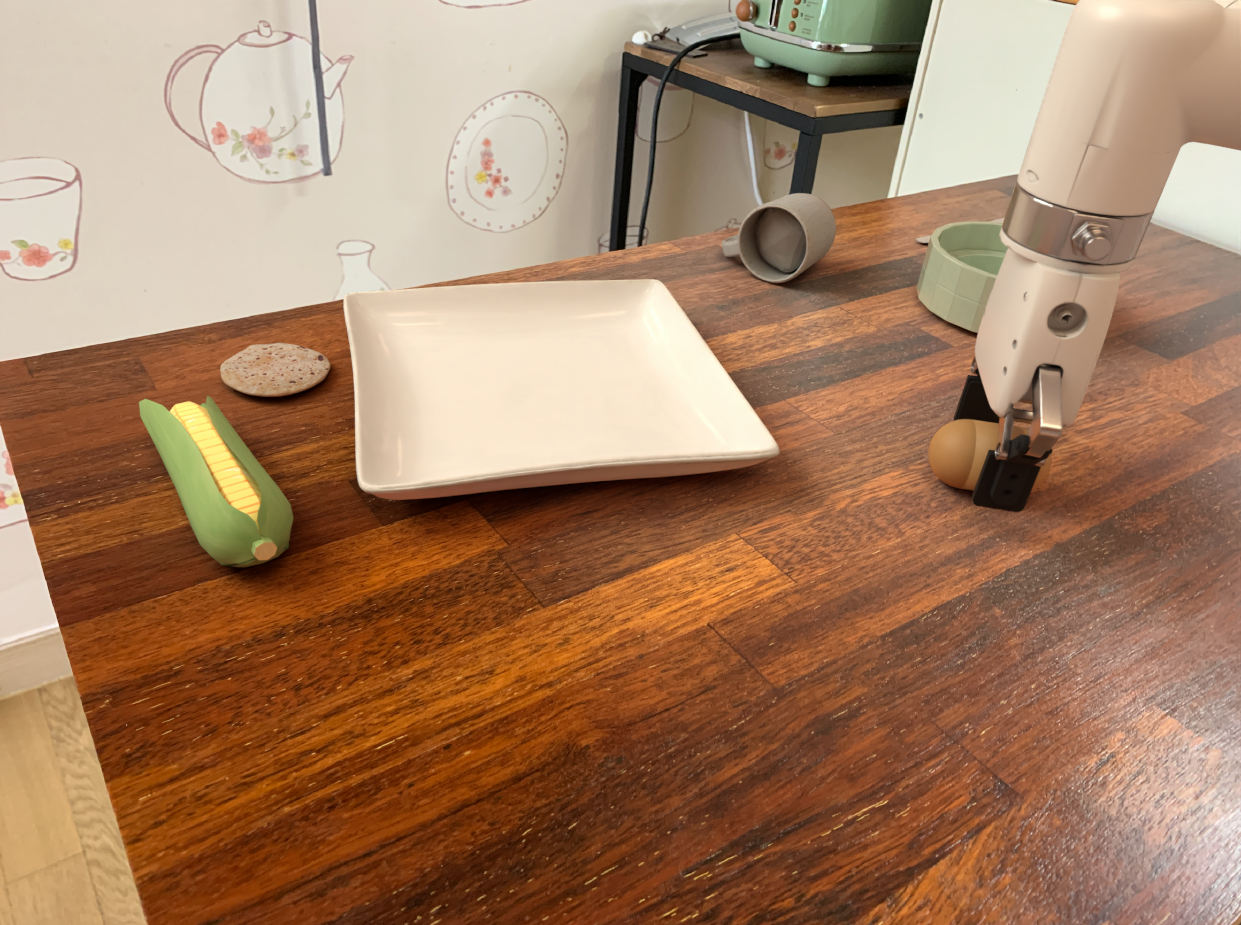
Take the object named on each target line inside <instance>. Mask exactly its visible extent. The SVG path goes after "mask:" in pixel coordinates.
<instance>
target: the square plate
mask: <svg viewBox="0 0 1241 925" xmlns="http://www.w3.org/2000/svg"><path fill="white" fill-rule="evenodd" d="M342 299H343V300H342V301H343V303H342V305H343V315H344V320H345V327H346V332H347V337H348V343H349V351H350V352H349V353H350V358H351V367H352V374H353V392H354V435H355V436H354V440H355V441H354V444H355V446H354V447H355V449H354V450H355V471H356V472H355V473H356V479H357V483H358V486H359V488H360V489H361V491H363V492H364V493H367V494H371V495H373V496H375V497H376V498H380V499H383V500H384V499H386V500H389V501H390V500H391V501H401V500H402V501H404V500H421V499H422V500H423V499H434V498H435V499H436V498H444V497H445V498H446V497H453V496H464V495H472V494H473V495H474V494H479V493H481V494H482V493H487V492H489V493H490V492H497V491H506V490H517V489H526V488H527V489H528V488H538V487H539V488H540V487H549V486H560V485H561V486H562V485H569V484H570V485H571V484H581V483H582V484H583V483H592V482H606V481H607V482H608V481H618V480H619V481H623V480H635V479H651V478H665V477H677V476H687V475H689V476H690V475H697V474H706V473H715V472H722V471H723V472H724V471H730V470H736V469H743V468H747V467H752V466H755V465H759V464H760V463H763V462H766V461H768V460H771V459H773V458H776V457H778V456H779V455H780V453H781V450H780V447H779V444H778V443H777V441H776V439H775V438H774V437H773V435H772V433H771V432H770V431H769V429H768V427H767V426H766V425H765V423H764V422H763V421H762V419H761V417H760V416H759V415H758V413H757V412H756V411H755V409H754V408H753V407H752V405H751V404H750V402H749V401H748V399H747V398H746V397H745V396H744V394H743V393H742V391H741V390H740V389H739V387H738V386H737V384H736V383H735V381H734V380H733V379H732V377H731V376H730V374H729V373H728V372H727V370H726V369H725V367H724V365H723V364H722V363H721V361H719V360H718V357H717V356H716V355H715V354H714V352H713V351H712V349H711V348H710V346H709V345H708V344H707V342H706V340H705V339H704V337H703V336H702V334H700V332H699V331H698V329H697V328H696V326H695V325H694V323H693V322H692V321H691V319H690V318H689V316H688V315H687V314H686V312H685V310H684V309H683V308H682V306H681V305H680V304H679V302H678V301H677V299H676V298H675V297H674V295H673V294H672V293H671V291H670V290H669V288H668V287H667V286H666V285H665V284H664V282H662V281H661V280H658V279H655V278H643V279H641V278H640V279H600V280H594V279H593V280H592V279H591V280H552V281H551V280H549V281H548V280H547V281H523V282H500V283H481V284H480V283H479V284H478V283H477V284H463V285H462V284H460V285H448V286H447V285H446V286H445V285H444V286H430V287H415V288H401V289H390V290H371V291H358V292H350V293H347V294H345V295H344V296H343V298H342Z"/></svg>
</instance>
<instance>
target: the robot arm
mask: <svg viewBox="0 0 1241 925" xmlns="http://www.w3.org/2000/svg"><path fill="white" fill-rule="evenodd" d="M1189 143H1198V144H1203V145H1204V144H1205V145H1210V146H1215V147H1221V148H1226V149H1231V150H1236V151H1241V0H1078V1H1077V3H1076V4H1075V5H1074V7H1073V9H1072V11H1071V14H1070V17H1069V19H1068V22H1067V24H1066V27H1065V30H1064V33H1063V36H1062V39H1061V43H1060V46H1059V48H1058V51H1057V55H1056V57H1055V61H1054V63H1053V67H1052V69H1051V73H1050V76H1049V79H1048V81H1047V85H1046V88H1045V92H1044V94H1043V98H1042V101H1041V105H1040V106H1039V110H1038V113H1037V116H1036V118H1035V122H1034V125H1033V129H1032V132H1031V135H1030V138H1029V141H1028V144H1027V147H1026V149H1025V153H1024V156H1023V160H1022V163H1021V165H1020V169H1019V172H1018V174H1017V175H1018V176H1017V178H1016V181H1015V184H1014V187H1013V190H1012V193H1011V196H1010V200H1009V203H1008V206H1007V209H1006V212H1005V215H1004V217H1005V218H1004V217H1003V218H1004V221H1003V225H1002V227H1001V230H1000V234H999V238H1000V240H1001V242H1002V243H1003V244H1004V245H1005V246H1006V247H1008V250H1007V251H1006V253H1005V257H1004V259H1003V262H1002V264H1001V267H1000V270H999V272H998V275H997V278H996V280H995V283H994V285H993V288H992V291H991V294H990V297H989V299H988V302H987V305H986V308H985V311H984V314H983V317H982V320H981V324H980V327H979V331H978V333H977V335H976V340H975V345H974V357H973V358H972V360H971V364H970V374H967V377H966V380H965V383H964V385H963V388H962V392H961V394H960V397H959V400H958V404H957V407H956V409H955V413H954V415H953V421H955V420H960V419H972V420H979V421H985V422H992V423H999V426H998V434H997V441H996V448H995V450H988V453H987V456H986V459H985V461H984V464H983V467H982V470H981V472H980V475H979V478H978V480H977V483H976V486H975V489H974V491H973V490H972V491H973V492H972V494H971V499H972V503H973V505H974V506H977V507H982V508H987V509H988V508H989V509H994V510H999V511H1007V512H1012V513H1020V512H1022V511H1024V509H1025V508H1026V505H1027V502H1028V500H1029V497H1030V496H1031V493H1032V492H1031V490H1032V488H1033V485H1034V483H1035V481H1036V478H1037V476H1038V473H1039V471H1040V468H1041V467H1043V466H1044V464H1045V462H1046V459H1047V458H1048V456H1049V454H1050V455H1052V453H1053V451H1054V450H1053V449H1052V448H1054V446H1055V445H1056V443H1057V442H1058V441H1059V439H1060V438H1061V436H1062V433H1063V428H1069V427H1070V426H1072V425H1073V424H1074V423H1075V421H1076V419H1077V418H1078V414H1079V413H1080V410H1081V407H1082V404H1083V402H1084V399H1085V396H1086V394H1087V392H1088V389H1089V386H1090V383H1091V381H1092V377H1093V375H1094V372H1095V369H1096V366H1097V363H1098V361H1099V359H1100V358H1099V357H1100V354H1101V352H1102V349H1103V346H1104V343H1105V340H1106V337H1107V333H1108V330H1109V327H1110V323H1111V322H1112V317H1113V313H1114V310H1115V306H1116V303H1117V298H1118V293H1119V290H1120V283H1121V279H1122V276H1121V273H1122V272H1125V271H1128V270H1129V269H1130V268H1132V266H1133V264H1134V261H1135V258H1136V256H1137V254H1138V252H1139V249H1140V248H1141V245H1142V242H1143V240H1144V237H1145V235H1146V232H1147V230H1148V228H1149V225H1150V223H1151V221H1152V218H1153V216H1154V213H1155V211H1156V208H1157V206H1158V204H1159V201H1160V199H1161V197H1162V194H1163V192H1164V189H1165V188H1166V184H1167V182H1168V179H1169V177H1170V175H1171V172H1172V170H1173V168H1174V165H1175V163H1176V161H1177V158H1178V155H1179V153H1180V151H1181V149H1182V147H1183V146H1184V145H1186V144H1189ZM1017 403H1021V404H1028V405H1032V410H1027V409H1021V408H1014V405H1016V404H1017ZM1015 423H1021V424H1026V425H1030V426H1029V428H1027V429H1028V434H1027V435H1022V434H1021V435H1019V436H1018V437H1016V438H1014V439H1013V440H1011V438H1012V430H1013V426H1014V424H1015Z"/></svg>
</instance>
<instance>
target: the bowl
mask: <svg viewBox="0 0 1241 925" xmlns="http://www.w3.org/2000/svg"><path fill="white" fill-rule="evenodd" d="M990 221H991V220H990ZM990 221H985V220H984V221H983V220H982V221H981V220H965V221H958V222H950V223H946V224H944V225H942V226H939V227H936V228H935V230H934V231H933V232H932V234H931V236H930V240H929V243H927V247H926V251H925V255H924V258H923V262H922V266H921V270H920V273H919V277H918V280H917V283H916V288H915V290H916V294H917V298H918V300H919V301H920V302H921V303H922V304H923V305H924V306H925V307H926V309H927V310H928V311H930V312H931V313H933V314H935V315H936V316H937V317H939V318H941V319H942V320H944V321H946V322H948V323H950V324H953V325H956V326H957V327H960V328H961V329H965V330H967V331H969V332H972V333H976V334H978V331H979V327H980V324H981V320H982V317H983V314H984V311H985V308H986V305H987V302H988V299H989V297H990V294H991V291H992V288H993V285H994V283H995V280H996V278H997V275H998V272H999V270H1000V267H1001V264H1002V262H1003V259H1004V257H1005V253H1006V251H1007V250H1008V247H1006V246H1005V245H1004V244H1003V243H1002V242H1001V240H1000V238H999V234H1000V230H1001V227H1002V225H1003V223H998V222H990Z"/></svg>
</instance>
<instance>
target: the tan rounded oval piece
mask: <svg viewBox="0 0 1241 925" xmlns="http://www.w3.org/2000/svg"><path fill="white" fill-rule="evenodd" d="M998 426H999V423H992V422H985V421H979V420H972V419H960V420H955V421H954V420H953V421H950V422H948V423H946V424H944V425H942V426H941V427H940V428H939V429H937V431H936V432H935V433H934V435H933V436H932V438H931V440H930V442H929V445H928V448H927V449H928V450H927V457H928V463H929V466H930V468H931V470H932V472H933V473H934V475H935V476H936V477H937V478H938V479H939V480H940V481H941V482H943V483H944V484H946V485H948V486H950V487H952V488H955V489H961V490H966V491H967V490H968V491H974V489H975V486H976V483H977V480H978V478H979V475H980V472H981V470H982V467H983V464H984V461H985V459H986V456H987V453H988V450H995V448H996V441H997V434H998ZM1028 429H1029V428H1027V427H1022V426H1019V425H1013V430H1012V438H1011V440H1013V439H1014V438H1016V437H1018V436H1019V435H1021V434H1022V435H1027V434H1028ZM1051 468H1052V454H1049V456H1048V458H1047V459H1046V462H1045V464H1044V466H1043V467H1041V468H1040V471H1039V473H1038V476H1037V478H1036V481H1035V483H1034V485H1033V488H1032V490H1031V493H1032V492H1034V491H1036V490H1037V489H1039V488H1040V487H1041V486H1042V485H1043V484H1044V483H1045V482H1046V480H1047V478H1048V476H1049V474H1050V472H1051Z"/></svg>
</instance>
